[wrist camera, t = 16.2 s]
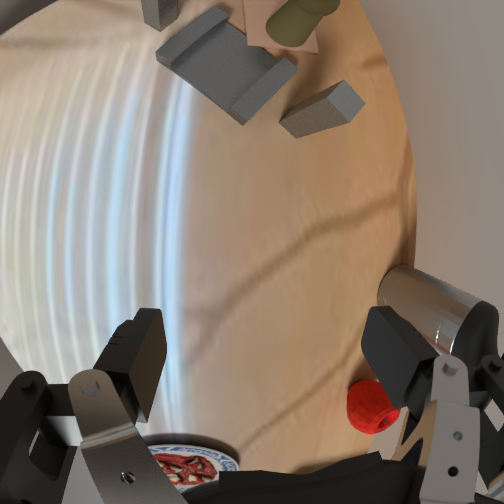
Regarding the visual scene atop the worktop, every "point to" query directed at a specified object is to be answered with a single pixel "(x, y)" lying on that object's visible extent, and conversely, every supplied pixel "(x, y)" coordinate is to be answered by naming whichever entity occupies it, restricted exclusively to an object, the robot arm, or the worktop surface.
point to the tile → (255, 17)
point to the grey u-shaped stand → (242, 71)
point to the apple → (370, 407)
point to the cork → (298, 20)
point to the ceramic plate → (191, 464)
